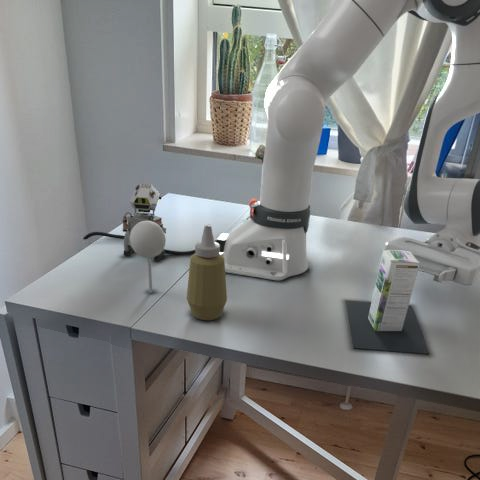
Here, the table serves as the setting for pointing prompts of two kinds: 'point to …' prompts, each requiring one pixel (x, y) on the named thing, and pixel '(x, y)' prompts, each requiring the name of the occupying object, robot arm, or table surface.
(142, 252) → the lollipop
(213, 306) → the squeeze bottle
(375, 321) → the syrup box
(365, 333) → the mat
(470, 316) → the table surface
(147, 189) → the figurine
